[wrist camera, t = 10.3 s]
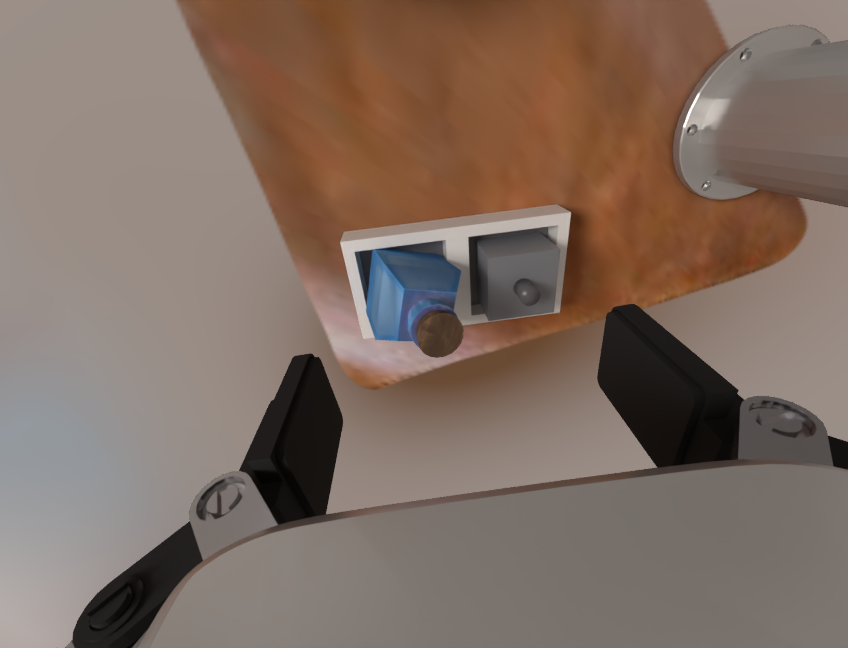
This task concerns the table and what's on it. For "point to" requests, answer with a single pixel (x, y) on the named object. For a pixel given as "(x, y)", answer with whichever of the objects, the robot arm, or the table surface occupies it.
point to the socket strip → (452, 251)
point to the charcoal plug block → (516, 275)
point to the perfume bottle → (414, 300)
